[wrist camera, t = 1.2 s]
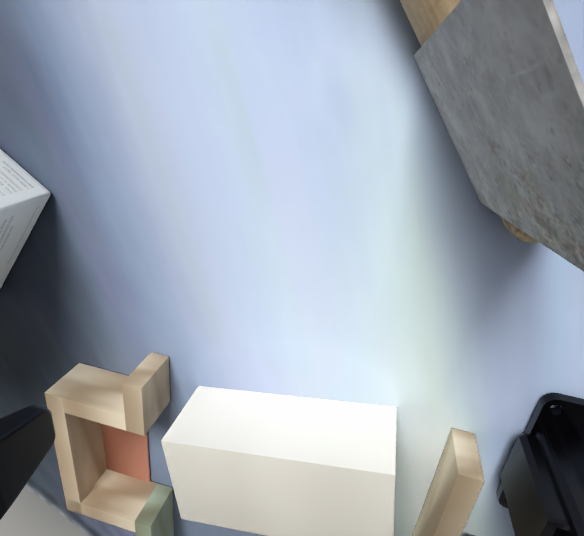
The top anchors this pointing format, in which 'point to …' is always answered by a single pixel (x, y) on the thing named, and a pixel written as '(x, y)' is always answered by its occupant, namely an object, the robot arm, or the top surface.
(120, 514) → the u-shaped wooden frame
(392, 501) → the cream block
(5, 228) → the small box
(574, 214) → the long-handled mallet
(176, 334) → the top surface
